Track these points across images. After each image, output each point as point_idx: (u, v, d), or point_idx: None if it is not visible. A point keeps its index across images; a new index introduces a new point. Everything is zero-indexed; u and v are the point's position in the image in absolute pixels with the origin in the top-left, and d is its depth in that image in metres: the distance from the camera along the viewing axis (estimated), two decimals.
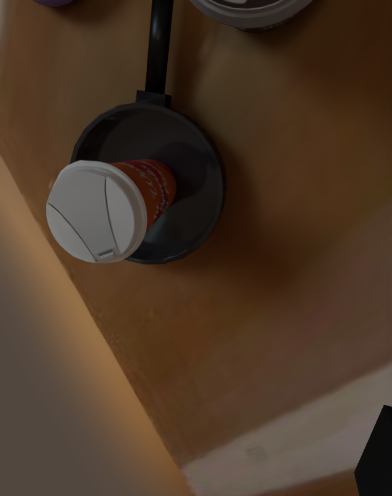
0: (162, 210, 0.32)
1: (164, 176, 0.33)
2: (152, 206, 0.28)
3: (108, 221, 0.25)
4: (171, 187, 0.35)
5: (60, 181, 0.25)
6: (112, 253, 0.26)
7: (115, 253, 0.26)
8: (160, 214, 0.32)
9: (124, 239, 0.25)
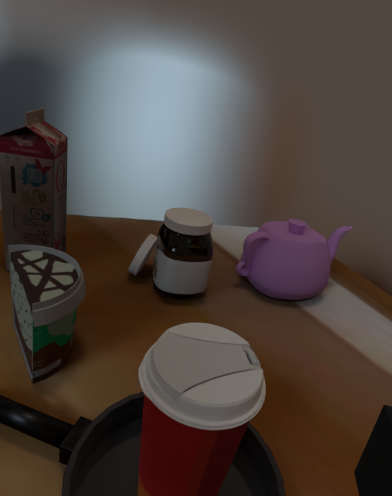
0: None
1: None
2: None
3: (212, 342, 0.23)
4: None
5: (158, 369, 0.20)
6: (249, 350, 0.23)
7: (249, 351, 0.23)
8: None
9: (232, 336, 0.23)
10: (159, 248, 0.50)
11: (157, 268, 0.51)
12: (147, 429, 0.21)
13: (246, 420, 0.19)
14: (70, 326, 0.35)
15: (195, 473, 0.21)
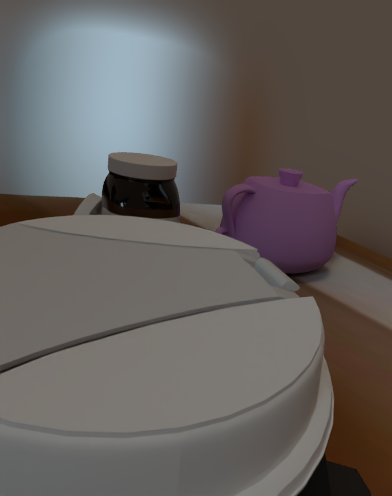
0: None
1: None
2: None
3: (151, 245, 0.08)
4: None
5: None
6: (260, 261, 0.08)
7: (260, 265, 0.08)
8: None
9: (210, 237, 0.09)
10: (103, 205, 0.35)
11: None
12: None
13: (291, 492, 0.04)
14: None
15: None
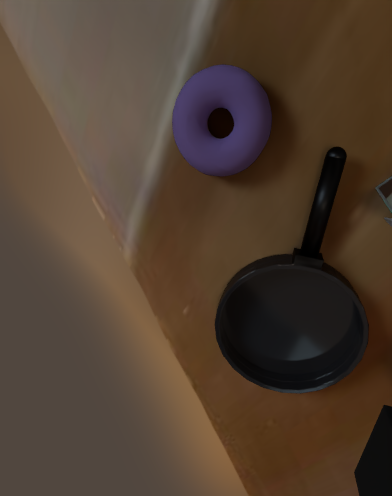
0: None
1: None
2: None
3: None
4: None
5: None
6: None
7: None
8: None
9: None
10: None
11: None
12: None
13: None
14: None
15: None
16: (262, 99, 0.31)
